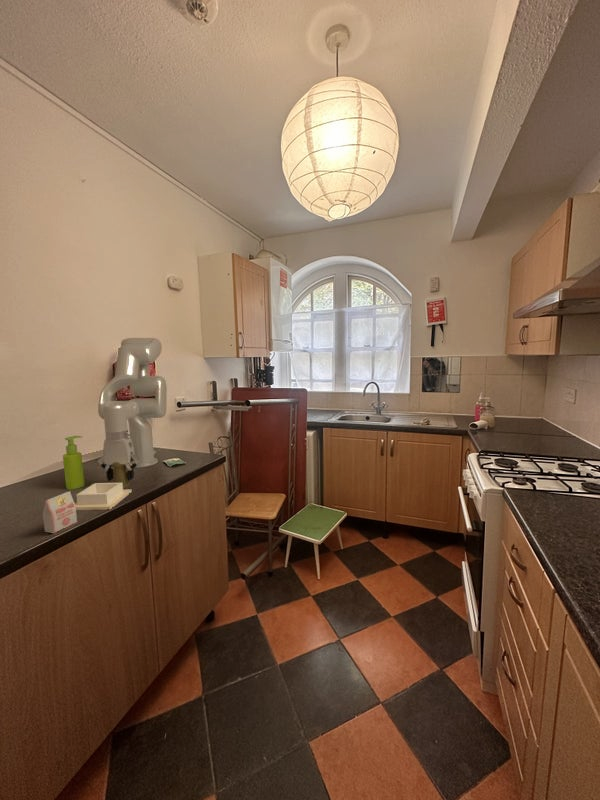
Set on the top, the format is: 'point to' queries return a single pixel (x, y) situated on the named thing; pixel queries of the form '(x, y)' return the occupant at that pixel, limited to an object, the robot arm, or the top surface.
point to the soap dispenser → (73, 465)
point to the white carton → (59, 512)
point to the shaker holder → (101, 496)
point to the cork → (120, 474)
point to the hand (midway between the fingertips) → (120, 479)
